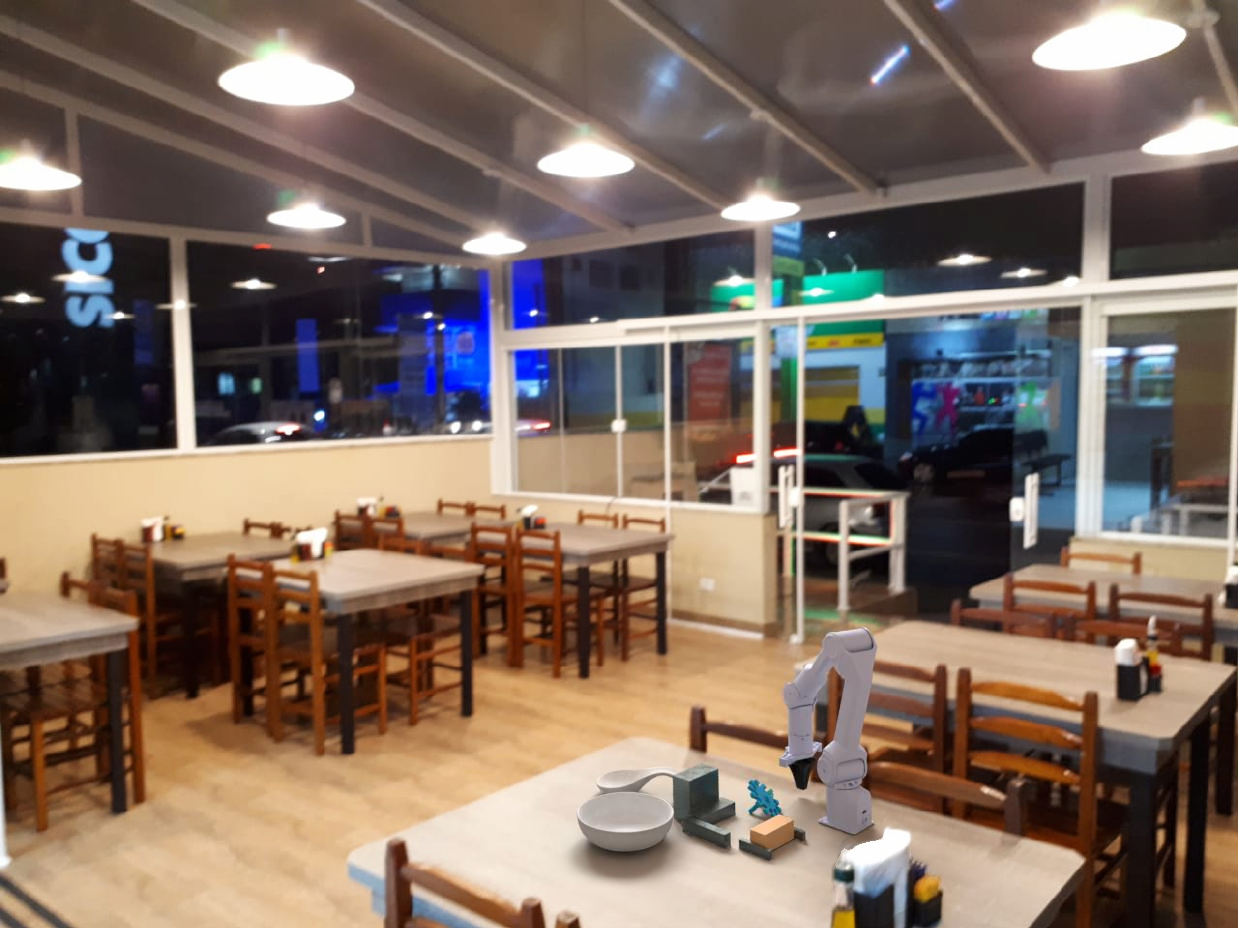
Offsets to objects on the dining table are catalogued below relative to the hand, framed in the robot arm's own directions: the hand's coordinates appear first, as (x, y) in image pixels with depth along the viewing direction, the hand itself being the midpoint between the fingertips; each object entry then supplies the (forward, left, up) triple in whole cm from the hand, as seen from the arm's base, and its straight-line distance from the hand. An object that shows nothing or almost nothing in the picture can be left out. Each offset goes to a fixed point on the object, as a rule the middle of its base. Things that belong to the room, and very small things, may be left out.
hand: (801, 788), depth 226 cm
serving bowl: (+14, +44, -2) cm, 47 cm away
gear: (0, +14, -2) cm, 14 cm away
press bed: (0, +26, -2) cm, 26 cm away
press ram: (-10, +24, -2) cm, 27 cm away
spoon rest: (+28, +25, -2) cm, 38 cm away
